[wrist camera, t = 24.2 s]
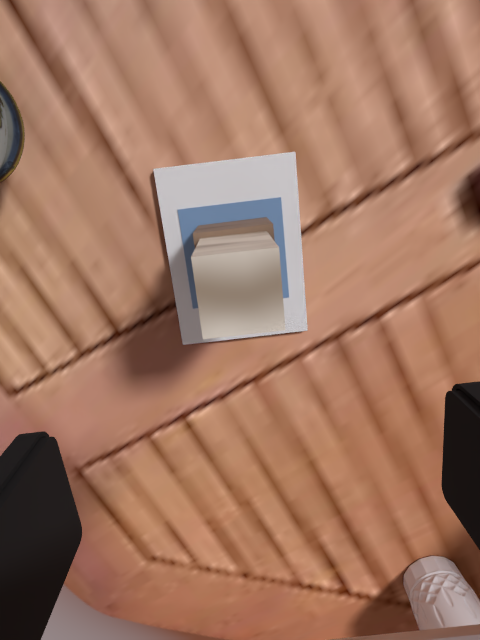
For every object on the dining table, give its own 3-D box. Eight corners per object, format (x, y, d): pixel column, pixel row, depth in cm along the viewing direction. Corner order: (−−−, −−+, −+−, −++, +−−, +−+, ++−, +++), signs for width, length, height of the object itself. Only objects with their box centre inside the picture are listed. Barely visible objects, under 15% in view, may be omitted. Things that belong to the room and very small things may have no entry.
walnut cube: (272, 283, 39) (280, 301, 33) (207, 291, 39) (204, 310, 33) (266, 216, 37) (273, 223, 31) (198, 225, 37) (192, 233, 31)
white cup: (384, 584, 52) (419, 673, 43) (427, 541, 50) (473, 625, 41) (432, 608, 54) (476, 701, 44) (475, 568, 52) (531, 655, 42)
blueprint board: (306, 327, 41) (307, 330, 41) (183, 341, 41) (182, 345, 41) (293, 152, 36) (295, 151, 36) (154, 169, 36) (153, 169, 36)
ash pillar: (272, 295, 33) (285, 330, 26) (208, 302, 33) (202, 339, 26) (266, 231, 32) (279, 247, 24) (199, 238, 32) (191, 257, 24)
